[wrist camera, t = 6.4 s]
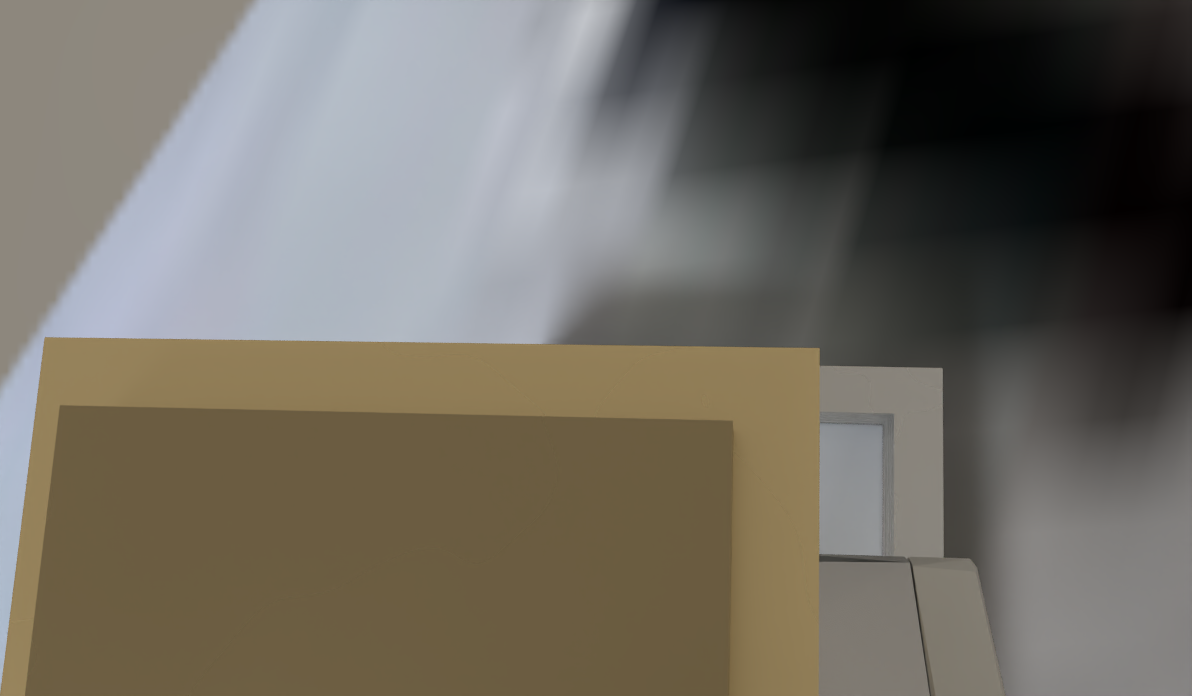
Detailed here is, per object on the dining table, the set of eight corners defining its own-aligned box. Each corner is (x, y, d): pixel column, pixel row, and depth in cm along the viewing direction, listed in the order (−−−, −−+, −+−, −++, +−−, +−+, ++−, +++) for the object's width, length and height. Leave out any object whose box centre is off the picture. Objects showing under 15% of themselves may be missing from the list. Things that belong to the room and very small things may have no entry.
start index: (928, 809, 20) (945, 839, 18) (509, 774, 21) (482, 800, 19) (927, 383, 21) (942, 367, 19) (531, 374, 22) (507, 359, 20)
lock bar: (769, 786, 14) (822, 1371, 4) (468, 766, 15) (-128, 1239, 5) (772, 476, 15) (825, 332, 5) (485, 467, 16) (-7, 321, 5)
